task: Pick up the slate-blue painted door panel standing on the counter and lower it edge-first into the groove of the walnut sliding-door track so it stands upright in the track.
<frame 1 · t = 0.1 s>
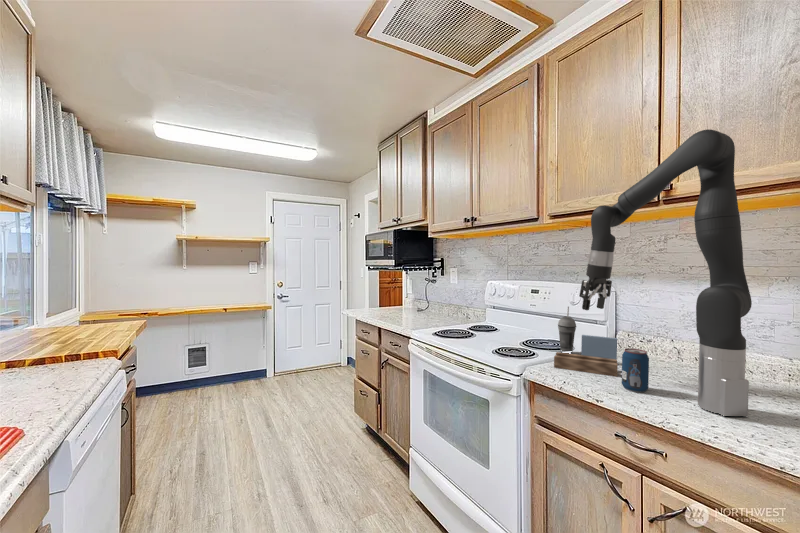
hand: (592, 309, 127), 22 cm above the countertop, tool pointing down, fingers open, 8 cm apart
beverage cup: (566, 353, 153), on the countertop
soda can: (634, 389, 110), on the countertop
door panel: (598, 362, 139), on the countertop
door track: (584, 369, 130), on the countertop
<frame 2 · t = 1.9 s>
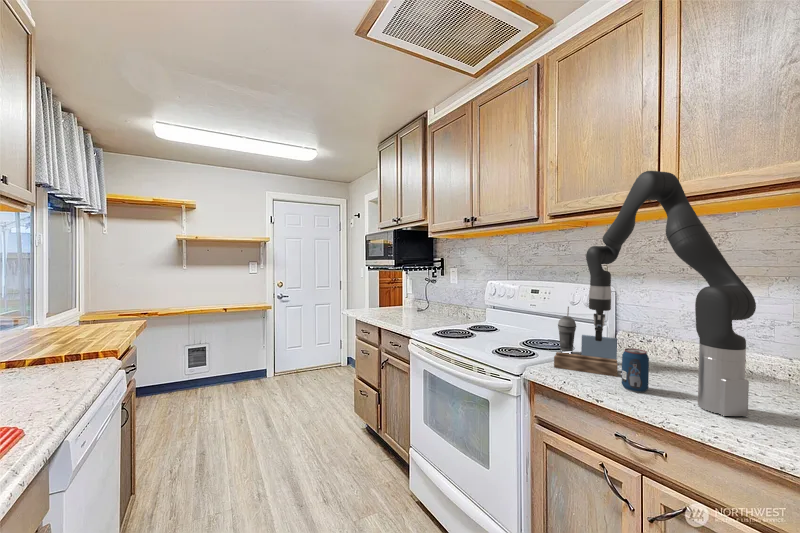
hand: (598, 338, 139), 9 cm above the countertop, tool pointing down, fingers open, 8 cm apart
nothing on the countertop moved.
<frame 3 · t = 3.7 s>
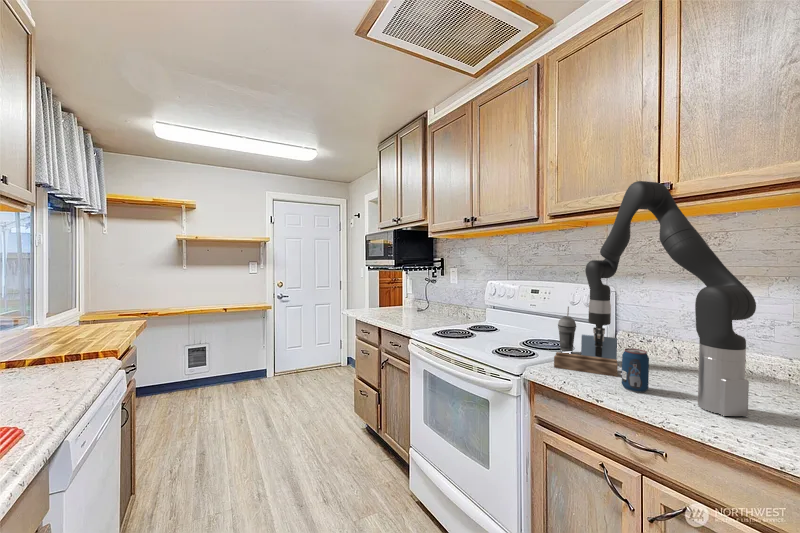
hand: (598, 355, 139), 3 cm above the countertop, tool pointing down, fingers closed on door panel, 2 cm apart
door panel: (598, 362, 139), on the countertop, touching gripper
everything else where it was.
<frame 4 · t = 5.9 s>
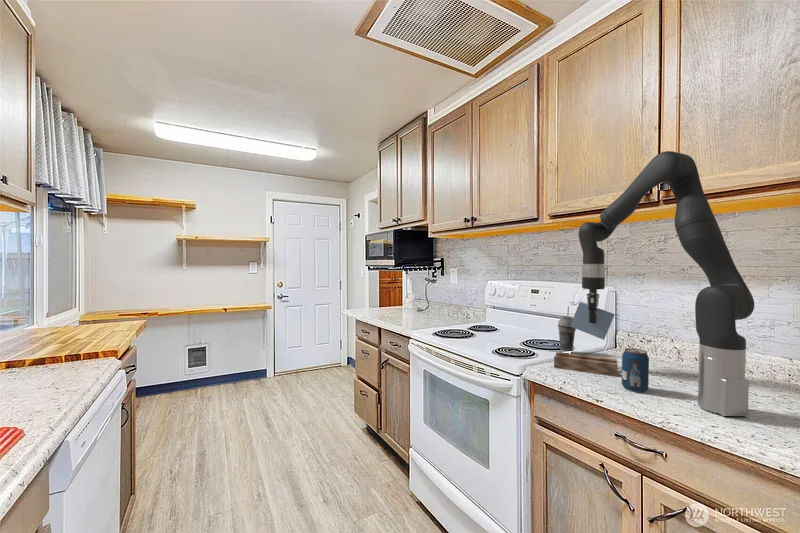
hand: (592, 322, 133), 17 cm above the countertop, tool pointing down, fingers closed on door panel
door panel: (586, 332, 134), point 13 cm above the countertop, tilted 18°, touching gripper
everything else where it was.
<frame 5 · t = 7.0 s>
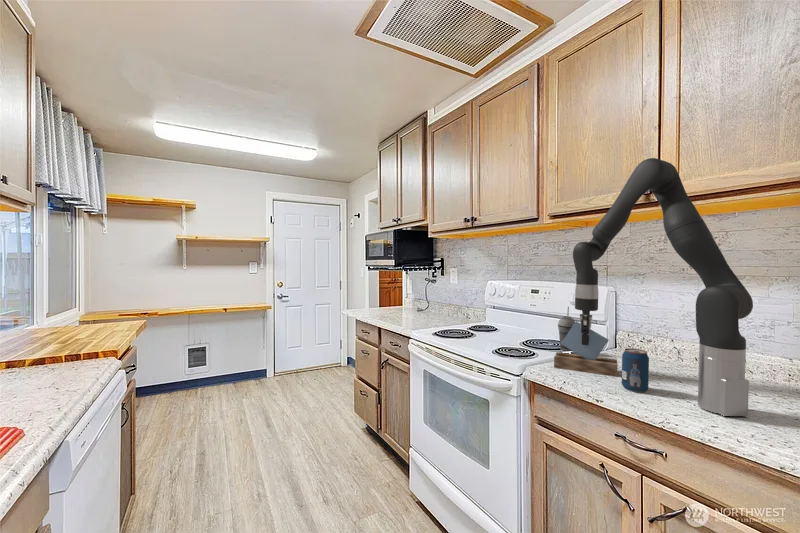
hand: (585, 343, 130), 9 cm above the countertop, tool pointing down, fingers closed on door panel
door panel: (576, 352, 132), point 6 cm above the countertop, tilted 28°, touching gripper
everything else where it was.
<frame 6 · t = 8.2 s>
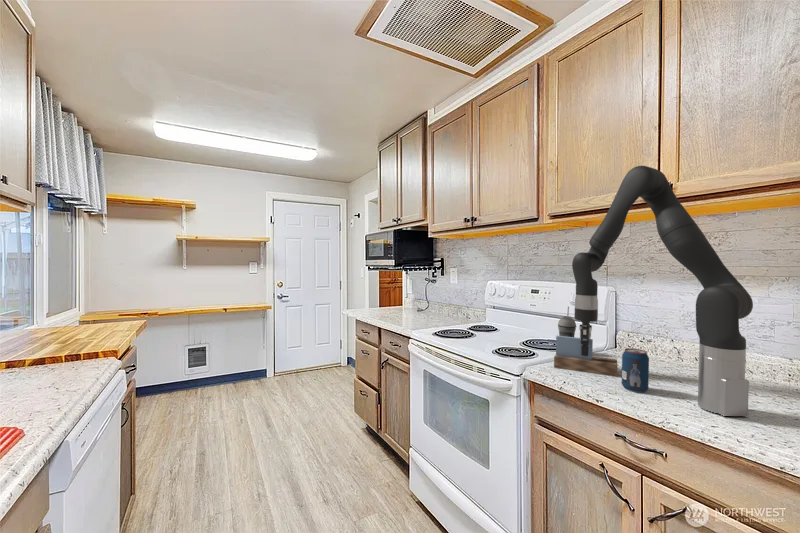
hand: (585, 353, 130), 6 cm above the countertop, tool pointing down, fingers open, 4 cm apart
door panel: (573, 364, 132), point 1 cm above the countertop, touching door track
everything else where it was.
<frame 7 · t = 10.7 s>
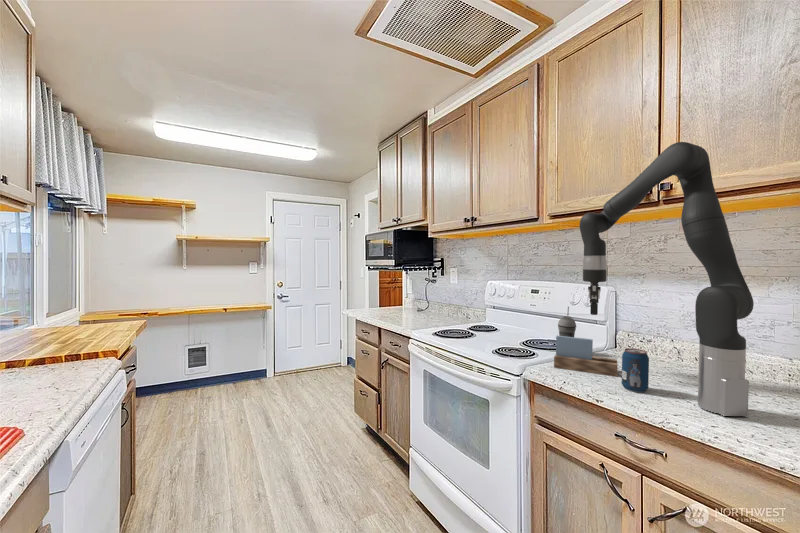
hand: (594, 313, 129), 21 cm above the countertop, tool pointing down, fingers open, 8 cm apart
nothing on the countertop moved.
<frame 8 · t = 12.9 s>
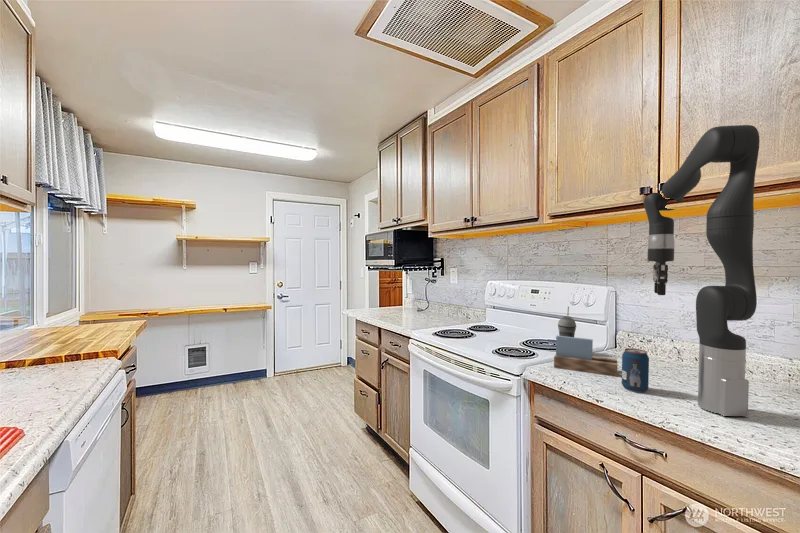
hand: (659, 294, 125), 28 cm above the countertop, tool pointing down, fingers open, 8 cm apart
nothing on the countertop moved.
at the end: door panel inside the target area on the door track (3.7 cm from its centre), point 1.0 cm above the door track's base; door panel tilted 0°; the gripper is holding nothing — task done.
